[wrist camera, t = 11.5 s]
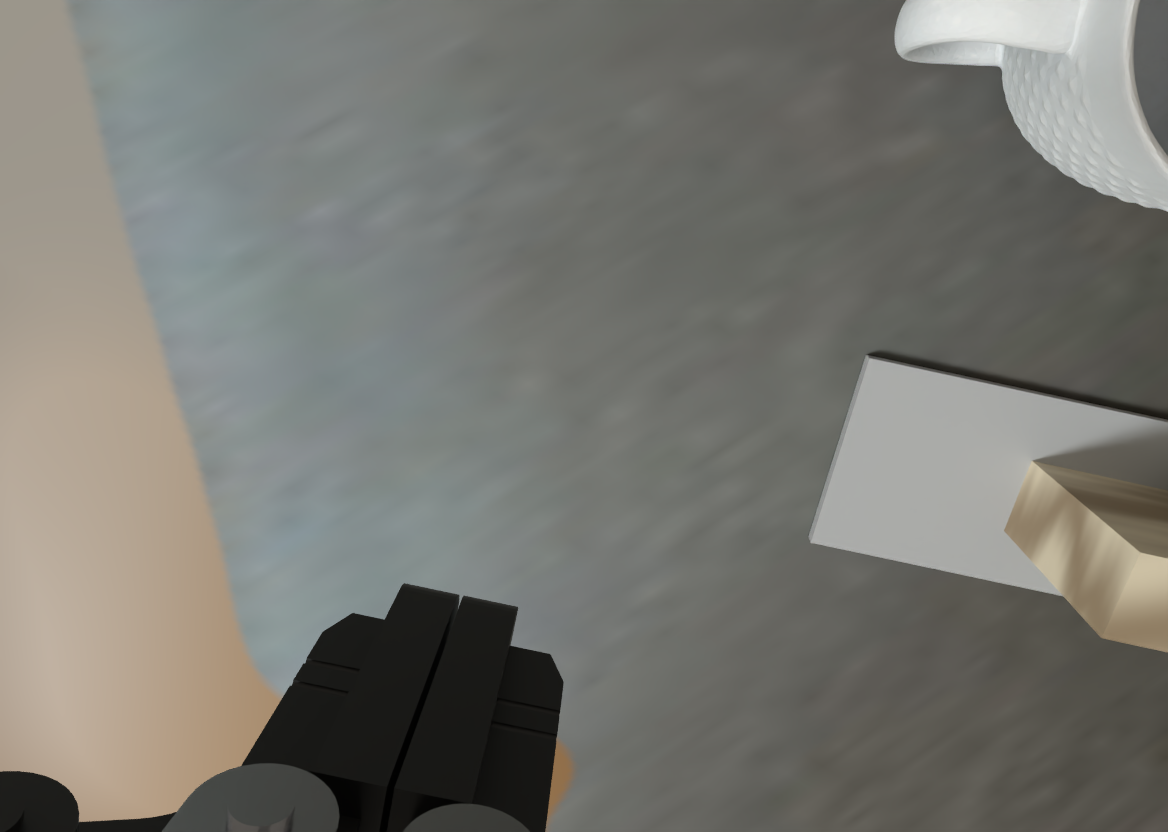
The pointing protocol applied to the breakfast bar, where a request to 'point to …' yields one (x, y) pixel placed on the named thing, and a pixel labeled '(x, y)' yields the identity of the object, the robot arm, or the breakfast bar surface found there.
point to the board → (965, 466)
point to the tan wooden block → (1099, 548)
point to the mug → (1066, 79)
